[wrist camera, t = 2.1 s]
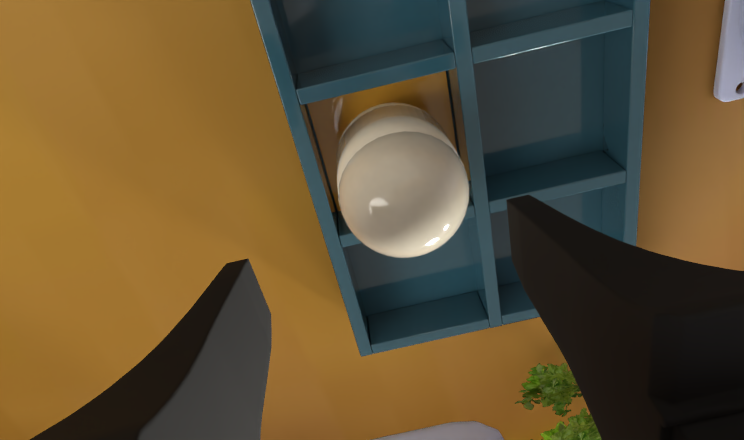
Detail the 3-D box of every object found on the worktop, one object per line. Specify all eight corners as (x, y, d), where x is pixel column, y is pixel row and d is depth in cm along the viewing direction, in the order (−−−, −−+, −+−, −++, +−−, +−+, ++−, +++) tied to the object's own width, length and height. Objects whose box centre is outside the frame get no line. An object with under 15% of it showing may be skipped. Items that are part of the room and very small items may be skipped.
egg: (430, 75, 21) (477, 144, 15) (446, 173, 23) (491, 267, 17) (322, 101, 21) (324, 179, 15) (347, 196, 23) (358, 297, 17)
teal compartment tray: (616, -209, 18) (664, -227, 15) (606, 262, 28) (633, 296, 25) (228, -111, 18) (214, -114, 16) (357, 318, 28) (360, 357, 26)
